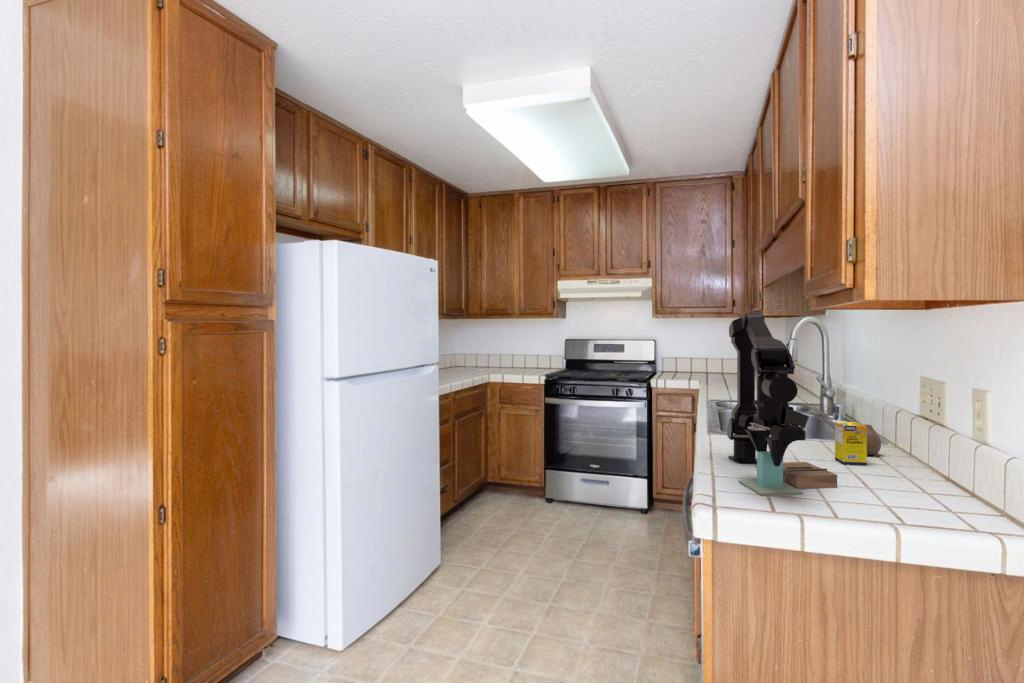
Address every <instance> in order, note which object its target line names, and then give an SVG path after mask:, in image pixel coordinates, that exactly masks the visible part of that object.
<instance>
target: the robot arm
mask: <svg viewBox="0 0 1024 683" xmlns="http://www.w3.org/2000/svg"><path fill="white" fill-rule="evenodd" d="M728 336H729V338H730V342H731V344H732V346H733V348H734V350H735V351H736V353H737V354H736V355H737V356H736V358H737V363H736V364H737V372H736V374H737V375H736V376H737V378H736V379H737V381H736V383H737V385H736V386H737V389H736V390H737V400H736V402H737V403H736V404H735V406H734V408H733V409H732V410H731V415H730V416H731V418H729V421H728V425H727V429H726V434H727V435H726V436H727V438H728V439H729V440H730V441H733V455H728V458H729V459H730V460H732V461H734V462H736V463H738V464H752V463H754V464H755V463H756V464H757V451H770V454H771V457H772V461H773V463H774V466H780V464H781V461H782V459H783V460H784V456H785V453H786V450H787V448H788V447H789V446H790V444H792V443H793V442H797V441H805V440H806V438H807V431H806V430H805V429H806V428H807V427H806V426H807V424H808V422H809V418H810V415H807V414H804V413H802V412H799V411H796V410H794V407H793V406H790V404H789V403H790V402H792V401H794V399H795V398H796V397H797V395H798V386H797V384H796V383H795V381H794V380H793V379H792V378H790V377H789V376H788V375H794V374H795V368H796V366H795V362H794V359H793V356H792V354H791V353H790V350H789V348H787V346H786V344H785V343H784V342H783V341H782V340H780V339H777V338H774V336H773V335H772V332H771V331H770V329H769V327H768V326H767V323H766V322H765V315H764V314H761V313H745V314H742V315H741V317H739V318H736V319H734V320H732V321H731V323H730V325H729V326H728ZM755 375H757V376H755ZM755 377H756V378H755ZM755 379H756V380H755ZM755 382H756V383H755ZM755 384H756V385H755ZM755 390H756V391H755ZM755 394H756V395H755ZM755 398H756V399H755ZM768 449H769V450H768Z"/></svg>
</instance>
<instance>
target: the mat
mask: <svg viewBox="0 0 1024 683" xmlns="http://www.w3.org/2000/svg"><path fill="white" fill-rule="evenodd" d="M738 483H739V484H740V483H741V485H742V484H743V485H742V486H744V487H745V486H746V488H747V487H748V489H749V490H751V491H752V490H753V491H752V492H754V493H756V494H757V493H758V495H759V496H783V495H784V496H787V495H803V494H804V491H803V490H800V489H796V488H794V487H792V486H790V485H788V484H786V483H784V482H783V487H773V488H762V487H760V486H758V485H757V479H748V480H747V479H746V480H745V479H744V480H741V479H740V480H738Z"/></svg>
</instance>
